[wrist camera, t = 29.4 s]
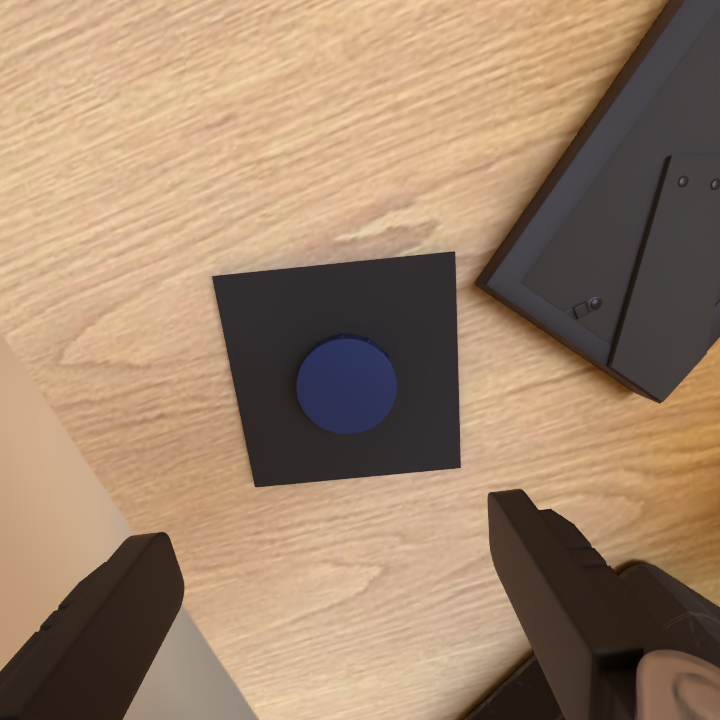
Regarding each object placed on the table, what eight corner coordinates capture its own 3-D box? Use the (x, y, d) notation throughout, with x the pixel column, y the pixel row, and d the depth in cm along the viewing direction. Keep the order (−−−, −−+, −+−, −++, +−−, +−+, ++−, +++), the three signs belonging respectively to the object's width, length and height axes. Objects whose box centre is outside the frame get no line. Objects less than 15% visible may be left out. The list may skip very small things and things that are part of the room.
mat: (258, 480, 24) (254, 487, 23) (217, 276, 20) (211, 276, 19) (457, 461, 24) (460, 468, 23) (451, 252, 20) (455, 251, 19)
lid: (402, 342, 21) (406, 348, 19) (384, 429, 22) (386, 441, 20) (307, 326, 20) (303, 330, 19) (294, 415, 22) (290, 426, 20)
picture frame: (635, 393, 22) (859, 134, 19) (665, 406, 20) (925, 116, 17) (473, 284, 20) (687, -28, 17) (487, 285, 18) (736, -72, 15)
